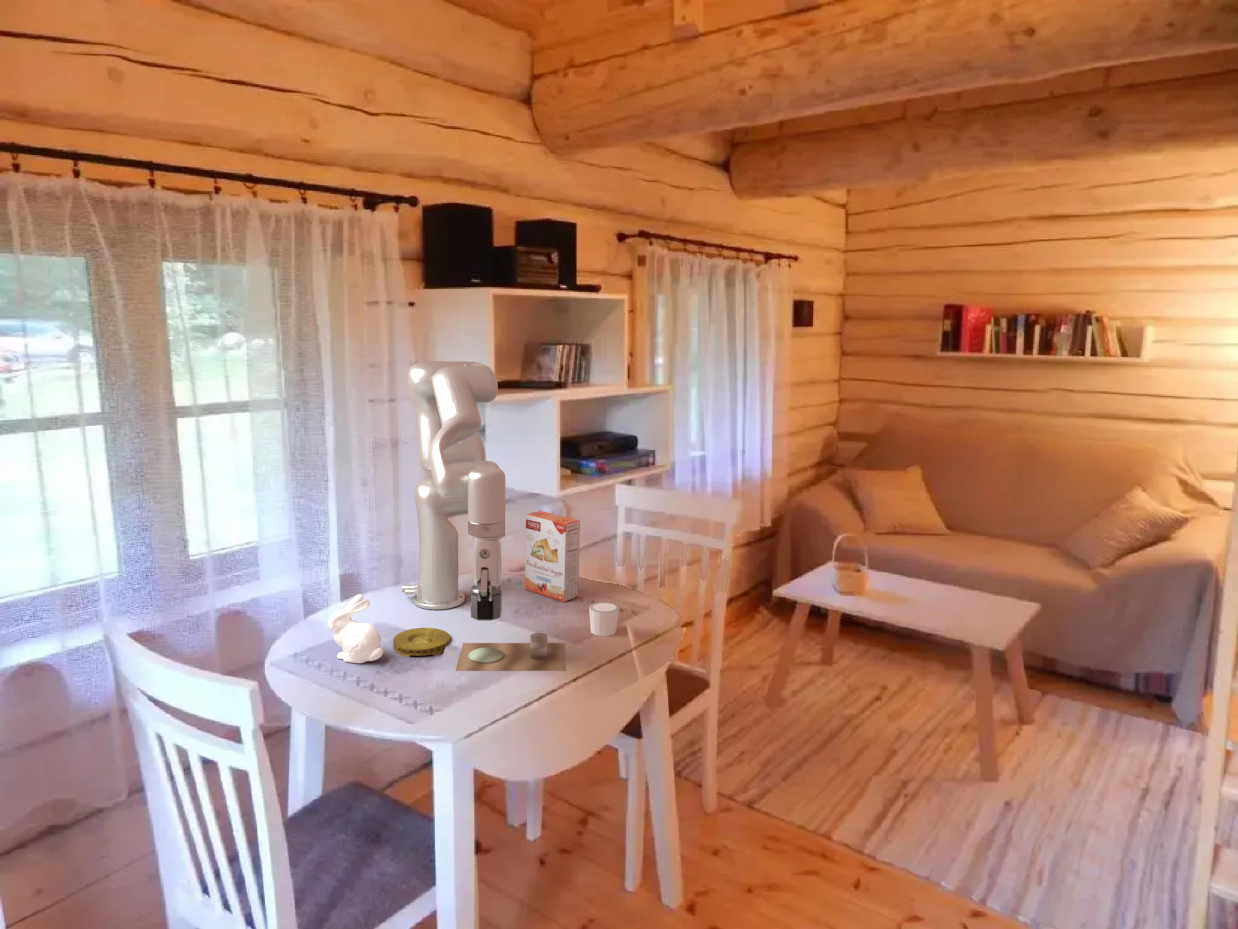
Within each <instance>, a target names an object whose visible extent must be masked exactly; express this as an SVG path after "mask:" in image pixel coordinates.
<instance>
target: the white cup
mask: <svg viewBox="0 0 1238 929" xmlns="http://www.w3.org/2000/svg"><path fill="white" fill-rule="evenodd" d="M588 608H589V612H588V613H589V624H590V625H589V626H590V633H591V634H593V635H595V636H598V637H606V636H607V637H608V636H609V637H610V636H613V635H615V634H616V633H617V626H618V620H619V612H620V606H619V605H617V604H615V603H612V602H608V601H607V602H606V601H603V602H600V601H599V602H595V603H594V602H593V603H592V604H590V605H589V607H588Z"/></svg>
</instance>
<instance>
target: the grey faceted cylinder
mask: <svg viewBox="0 0 1238 929" xmlns="http://www.w3.org/2000/svg"><path fill="white" fill-rule="evenodd" d="M487 585H490V583H487ZM487 591H489V589H487ZM502 591H503V590H502V586H501V585H500V584H499V586H498V587H496V586H492V600H493V619H477V600H478V587H477V586H475V584H473V585H472V586H471V593H470V618H472V619H474V620H476V621H477V622H478V621H489V622H490V621H493V620H497V619H500V618H501V616H502V608H503V607H502V602H503V601H502V596H503V594H502Z"/></svg>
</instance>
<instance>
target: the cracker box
mask: <svg viewBox="0 0 1238 929" xmlns="http://www.w3.org/2000/svg"><path fill="white" fill-rule="evenodd" d="M580 531H581V520H579V519H575V518H571V517H567V516H562V515H560V514H555V513H551V512H547V511H542V510H538V511H534V512H530V513H527V514H525V557H524V558H525V565H524V566H525V568H524V569H525V570H524V571H525V572H524V573H525V574H524V576H525V579H524V584H525V588H524V590H526V591H529V592H531V593H533V594H534V593H535V594H539V595H541V596H544V597H547V598H550V599H553V600H557V601H559V602H562V603H566V602H568V601H571V600H573V599H576V598H578V597H579V580H580V579H579V575H580V572H579V571H580V538H581V537H580Z"/></svg>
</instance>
